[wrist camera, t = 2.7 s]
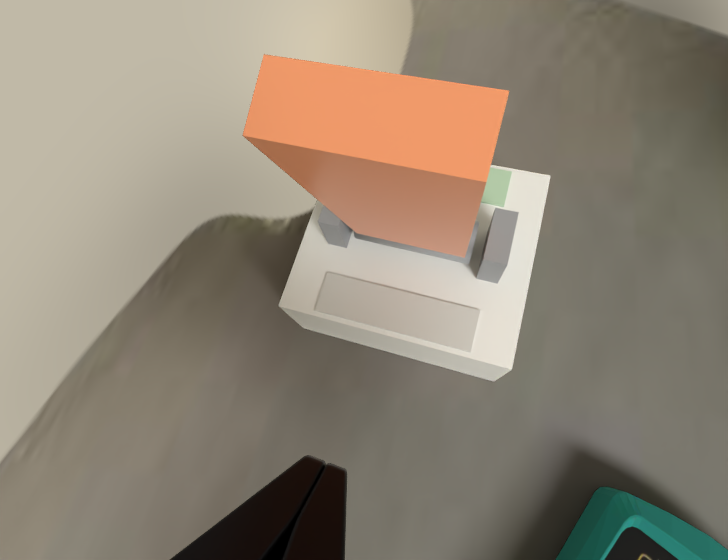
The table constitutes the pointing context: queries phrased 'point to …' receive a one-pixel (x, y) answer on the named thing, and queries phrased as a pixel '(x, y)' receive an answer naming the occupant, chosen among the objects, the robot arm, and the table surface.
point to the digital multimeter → (635, 532)
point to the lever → (381, 149)
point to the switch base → (426, 284)
